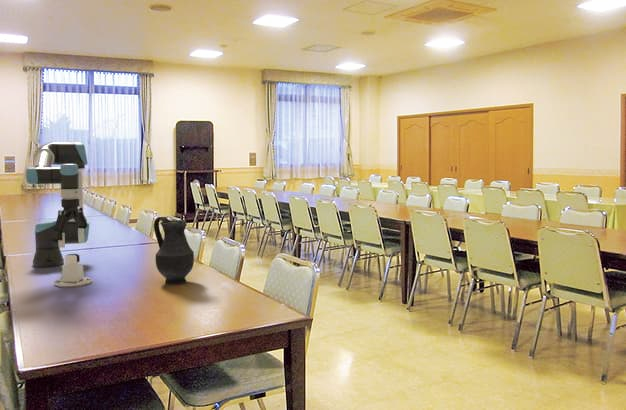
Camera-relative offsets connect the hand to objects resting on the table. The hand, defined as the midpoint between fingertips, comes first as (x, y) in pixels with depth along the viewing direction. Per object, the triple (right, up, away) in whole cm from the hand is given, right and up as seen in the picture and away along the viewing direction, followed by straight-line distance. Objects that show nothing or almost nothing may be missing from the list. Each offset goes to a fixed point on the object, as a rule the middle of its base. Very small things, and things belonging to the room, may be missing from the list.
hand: (71, 244), depth 264 cm
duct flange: (0, -18, +1) cm, 18 cm away
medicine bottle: (0, -17, +1) cm, 17 cm away
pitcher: (+45, -18, +5) cm, 48 cm away
